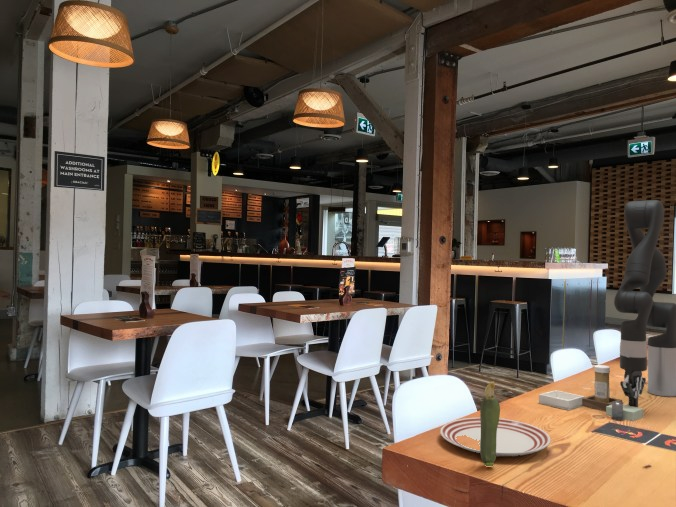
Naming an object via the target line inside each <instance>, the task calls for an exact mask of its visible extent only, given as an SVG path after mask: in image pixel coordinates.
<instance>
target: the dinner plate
mask: <svg viewBox="0 0 676 507" xmlns="http://www.w3.org/2000/svg"><path fill="white" fill-rule="evenodd" d="M439 432H440V435H441V437H442V438H443V439H444V441H445V440H446V441H447V442H449V443H450V444H452V445H454V446H457V447H459V448H461V449H463V450H467V451H469V452H473V453H475V452H476V454H479V453H480V450H476V449H472V448H469V447H466V446H464V445H462V444H460V443H459V442H457V441H456V439H457V438H456V437H457V436H462V435H463V436H464V435H466V436H467V437H470V438H472V439H474V440H476V439H477V441H479V440H480V439H481V421H480V416H479V417H468V418H459V419H456V420H452V421H449V422H447V423H445V424H443V426H442V427H440V431H439ZM479 443H480V442H479ZM479 443H478V444H479ZM550 444H551V436H550V434H548V433H547V432H546V431H545V430H543V429H541V428H540V427H537V426H535V425H532V424H529V423H525V422H522V421H518V420H512V419H507V418H500V417H499V423H498V427H497V435H496V457H499V456H512V457H519V456H518V455H520V456H525V455H530V454H534V453H537V452H540V451H542V450H544V449H545V448H547V447H548V446H549V445H550ZM479 446H480V445H479Z"/></svg>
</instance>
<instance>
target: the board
mask: <svg viewBox="0 0 676 507" xmlns="http://www.w3.org/2000/svg"><path fill="white" fill-rule="evenodd" d="M605 415H606V416H609V417H612V405H609V406H606V411H605ZM642 418H644V408H642V407H639V406H638V407H633V406H629V404H624V403H623V420H627V421H630V422H635V421H637V420H639V419H642Z"/></svg>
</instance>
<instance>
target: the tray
mask: <svg viewBox="0 0 676 507" xmlns="http://www.w3.org/2000/svg"><path fill="white" fill-rule="evenodd" d="M585 397H586V396H585V395H579V394H576V393H571V392H567V391H561V390H557V389H555V390H551V391H547V392H542V393H540V394H538V404H539V405H544V406H548V407H551V408H556V409H561V410H563V411H564V410H565V411H572V410H574V409H578V408H580V407H583V406H582V398H585Z"/></svg>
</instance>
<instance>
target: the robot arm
mask: <svg viewBox="0 0 676 507" xmlns="http://www.w3.org/2000/svg"><path fill="white" fill-rule="evenodd" d="M623 209H624V210H623V212H624V213H623V215H624V216H623V217H624V221H625V226H626V229H627V233H628V236H629V240H630V242H631V243H630V244H631V248H632V251H631V253H630V254H629V256H628V257H627V260H626V263H625V269H624V276H623V280H622V282H621V284H620V286H619V288H618V290H617V292H616V294H615V296H614V300H613V304H614V308H615V309H616V311H617V312H619V313H622V314H633V315H634V314H636V315H637V317H636V318H635V319H630V320H624V321H622V322H621V323H620V344H619V368H620V369H622V370H624V375H623V380H624V381H622V380H621V381H620V387H621V389H622V391H623V394H624V396H625V397H627V398H628V405H629V406H633V407H638V408H639V397H640V395H642V393H643V391H644V388H645V384H646V381H647V393H649V394H650V395H656V396H660V397H661V396H662V397H676V303H674V302H664V301H663V302H662V301H654V298H653V297H654V295H655V294H656V293H657V290H658V289H659V288H660V287H661V285H662V284H663V283H664V281H665V280H666V277H667V275H668V271H667V269H668V268H667V263H666V257H665V256H664V254H663V253H662V251H661V250H660V249H659V248H658V247H657V244H658V241H659V238H660V234H661V231H662V227H663V223H664V218H665V208H664V205H663V202H662V201H661V200H658V199H657V200H656V199H655V200H654V199H651V200H650V199H649V200H647V199H646V200H634V201H628V202H627V203H626V204H625V206H624V208H623ZM643 229H647V232H646V234H645V233H644V231H643ZM638 288H639V291H635V290H636V289H638ZM647 326H648V327H653V328H663V329H664V328H666V330H665V332H664V333H661V334H658V335H653V336H650V337H648V338H647ZM646 371H647V379H646V377H643V372H646Z"/></svg>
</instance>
